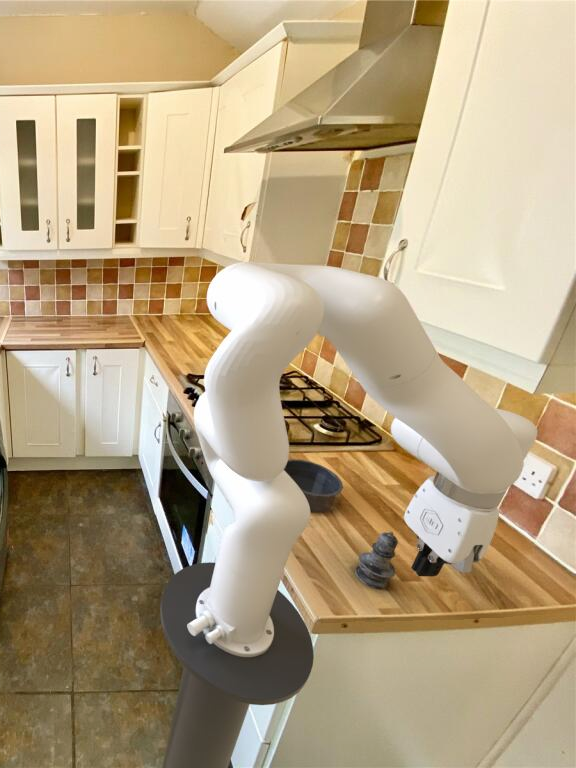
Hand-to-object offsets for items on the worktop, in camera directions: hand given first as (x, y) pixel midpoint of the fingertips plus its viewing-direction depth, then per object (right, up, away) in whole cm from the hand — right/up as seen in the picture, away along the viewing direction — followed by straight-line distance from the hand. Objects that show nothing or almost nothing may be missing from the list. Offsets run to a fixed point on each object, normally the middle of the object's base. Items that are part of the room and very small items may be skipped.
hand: (423, 572), depth 70 cm
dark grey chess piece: (-1, -6, +11) cm, 13 cm away
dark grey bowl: (-1, +5, +34) cm, 34 cm away
